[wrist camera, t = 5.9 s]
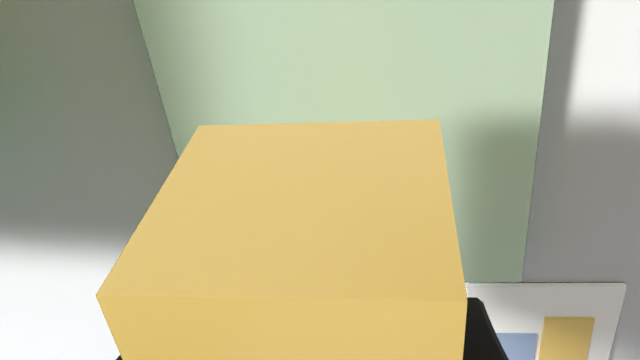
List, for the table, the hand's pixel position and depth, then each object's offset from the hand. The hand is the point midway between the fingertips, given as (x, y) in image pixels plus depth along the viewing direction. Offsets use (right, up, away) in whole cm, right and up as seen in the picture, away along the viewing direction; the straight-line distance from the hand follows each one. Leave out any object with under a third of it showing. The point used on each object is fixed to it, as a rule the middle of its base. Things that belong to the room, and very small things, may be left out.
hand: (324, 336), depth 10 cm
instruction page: (+8, -3, +10) cm, 13 cm away
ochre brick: (0, +1, +1) cm, 1 cm away
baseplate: (+1, +4, +6) cm, 8 cm away
